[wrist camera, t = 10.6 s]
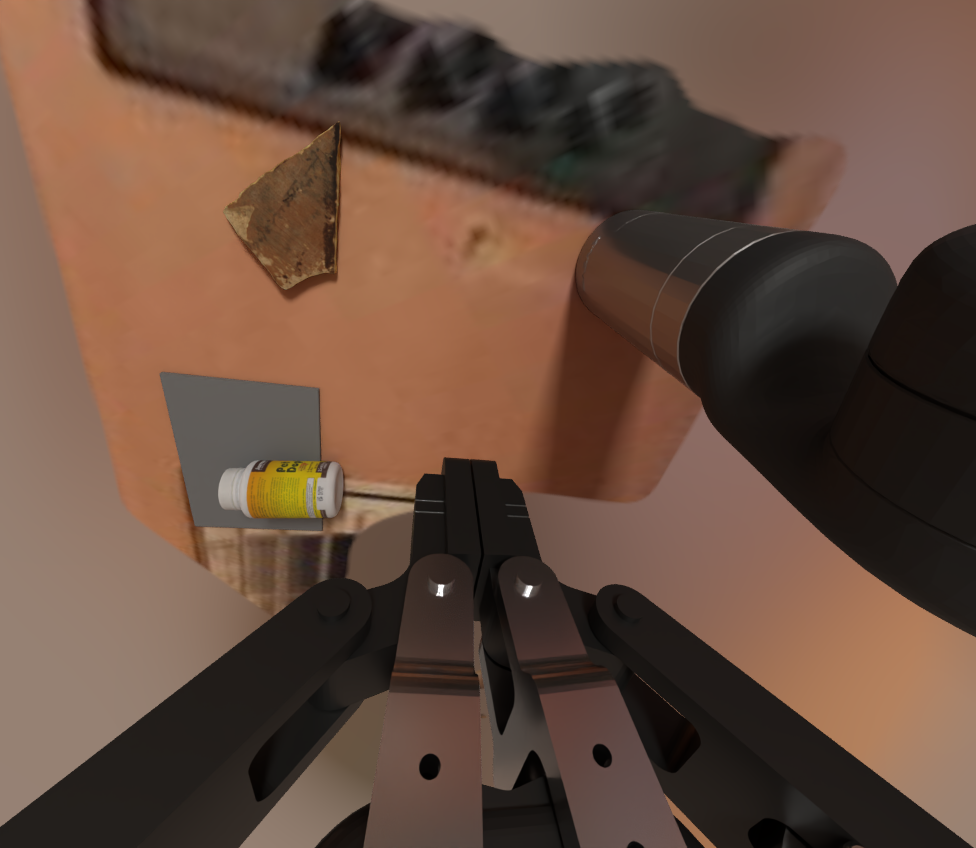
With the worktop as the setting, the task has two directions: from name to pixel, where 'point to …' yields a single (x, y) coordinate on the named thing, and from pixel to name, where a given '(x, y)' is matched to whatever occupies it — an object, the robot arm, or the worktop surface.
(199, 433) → the mat
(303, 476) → the supplement bottle
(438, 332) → the worktop surface
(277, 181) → the shard
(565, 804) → the robot arm
